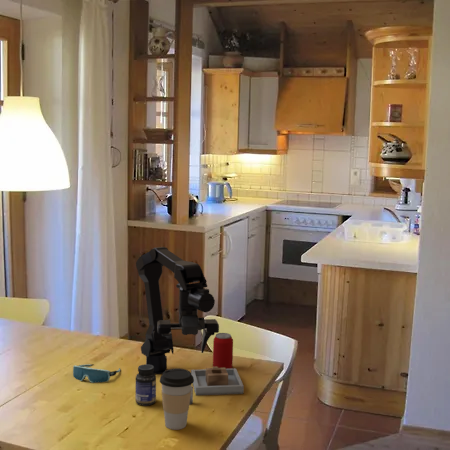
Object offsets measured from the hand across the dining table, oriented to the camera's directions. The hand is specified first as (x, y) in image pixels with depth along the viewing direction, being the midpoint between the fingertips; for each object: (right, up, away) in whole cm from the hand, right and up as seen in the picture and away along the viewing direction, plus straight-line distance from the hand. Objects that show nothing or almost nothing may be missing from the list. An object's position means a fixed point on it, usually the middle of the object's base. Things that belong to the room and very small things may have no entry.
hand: (187, 352), depth 201 cm
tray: (+9, -12, +7) cm, 16 cm away
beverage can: (+11, -10, +22) cm, 26 cm away
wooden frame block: (+9, -11, +7) cm, 16 cm away
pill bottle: (-12, -14, -7) cm, 19 cm away
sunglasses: (-31, -10, +14) cm, 36 cm away
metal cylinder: (+1, -14, -7) cm, 15 cm away
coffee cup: (-2, -16, -21) cm, 27 cm away
